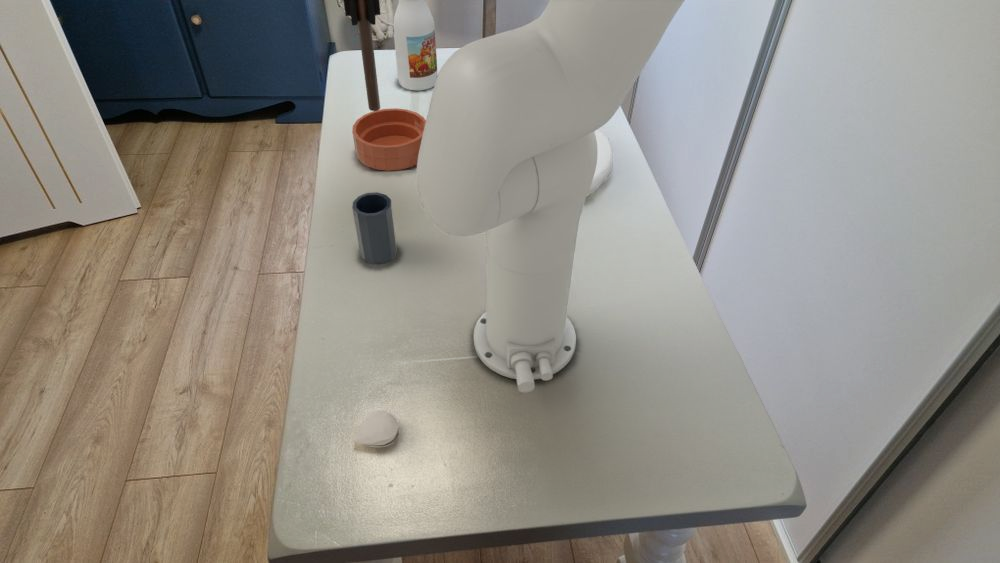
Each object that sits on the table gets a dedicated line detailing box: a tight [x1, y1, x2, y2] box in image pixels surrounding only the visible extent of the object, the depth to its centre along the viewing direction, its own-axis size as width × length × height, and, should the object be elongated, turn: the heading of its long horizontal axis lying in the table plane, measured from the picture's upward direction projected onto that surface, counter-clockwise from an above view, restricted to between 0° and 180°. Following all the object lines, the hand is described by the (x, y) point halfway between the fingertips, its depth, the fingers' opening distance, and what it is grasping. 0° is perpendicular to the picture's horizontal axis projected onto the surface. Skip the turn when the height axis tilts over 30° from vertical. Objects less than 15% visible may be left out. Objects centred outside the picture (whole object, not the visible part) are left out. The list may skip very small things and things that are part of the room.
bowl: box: [351, 107, 426, 172], centre depth 110 cm, size 12×12×5 cm
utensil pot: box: [351, 191, 398, 266], centre depth 89 cm, size 5×5×9 cm
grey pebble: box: [352, 409, 400, 448], centre depth 70 cm, size 4×5×2 cm
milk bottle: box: [393, 0, 438, 91], centre depth 123 cm, size 8×8×20 cm
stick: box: [355, 0, 381, 112], centre depth 86 cm, size 2×2×18 cm
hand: (363, 19), depth 84 cm, fingers closed on stick, 1 cm apart
